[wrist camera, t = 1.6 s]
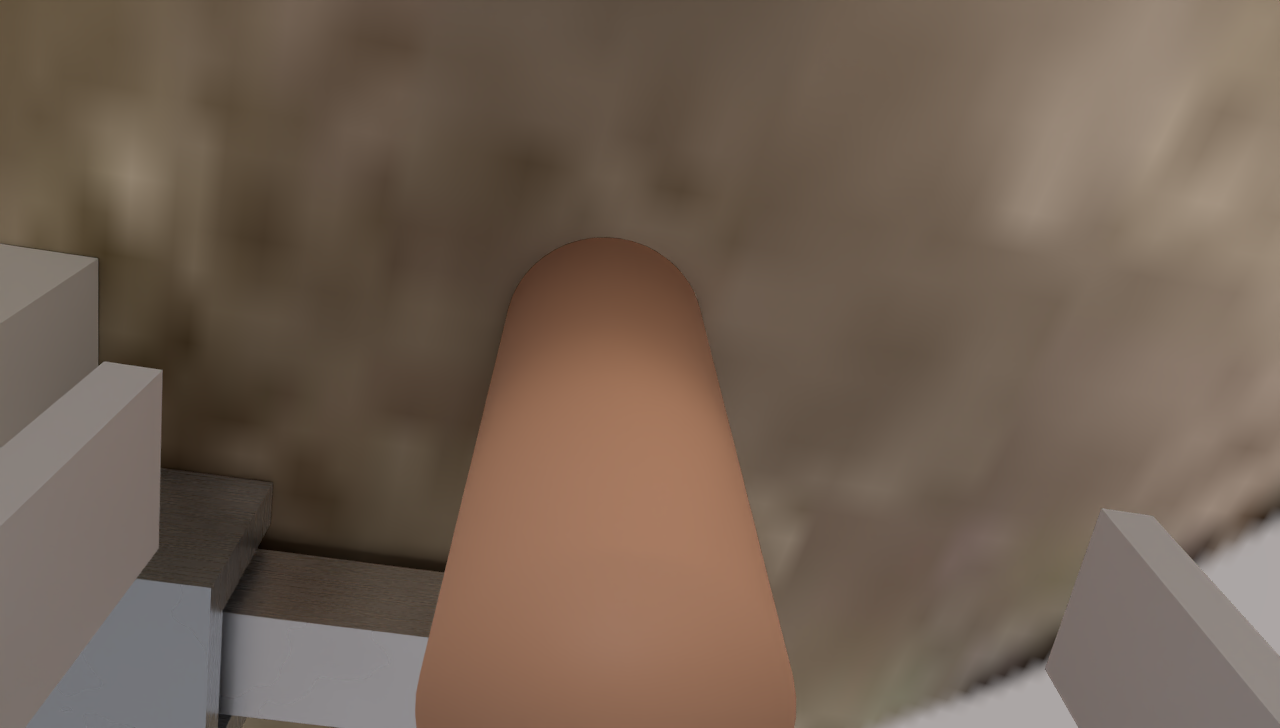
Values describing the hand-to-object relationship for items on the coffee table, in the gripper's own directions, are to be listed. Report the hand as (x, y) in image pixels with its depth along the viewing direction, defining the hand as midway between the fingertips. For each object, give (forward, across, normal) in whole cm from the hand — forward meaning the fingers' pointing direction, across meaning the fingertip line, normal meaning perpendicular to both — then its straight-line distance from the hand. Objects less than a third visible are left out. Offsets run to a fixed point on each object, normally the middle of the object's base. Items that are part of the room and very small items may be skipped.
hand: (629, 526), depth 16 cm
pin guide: (+8, -9, -7) cm, 14 cm away
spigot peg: (+8, 0, 0) cm, 8 cm away
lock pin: (+8, -5, -7) cm, 11 cm away
